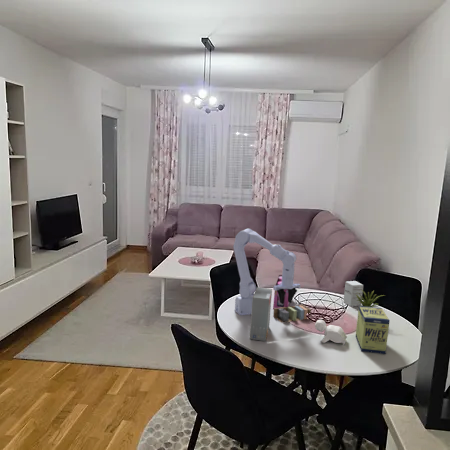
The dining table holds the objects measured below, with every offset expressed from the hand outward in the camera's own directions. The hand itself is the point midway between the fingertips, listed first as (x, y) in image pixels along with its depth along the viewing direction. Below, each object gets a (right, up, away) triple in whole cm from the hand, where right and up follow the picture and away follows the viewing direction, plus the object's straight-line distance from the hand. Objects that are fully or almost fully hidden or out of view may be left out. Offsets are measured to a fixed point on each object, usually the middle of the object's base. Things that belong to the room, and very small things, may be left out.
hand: (285, 302), depth 207 cm
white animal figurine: (+17, -14, -19) cm, 29 cm away
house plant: (+44, -11, +7) cm, 45 cm away
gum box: (+1, -6, +24) cm, 25 cm away
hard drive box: (-14, -12, -15) cm, 24 cm away
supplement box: (+43, -6, +30) cm, 52 cm away
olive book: (+3, -8, +3) cm, 10 cm away
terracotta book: (+9, -8, +6) cm, 14 cm away
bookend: (-1, -9, +1) cm, 9 cm away
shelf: (+4, -9, +4) cm, 10 cm away
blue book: (+7, -8, +5) cm, 12 cm away
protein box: (+35, -15, -21) cm, 44 cm away
